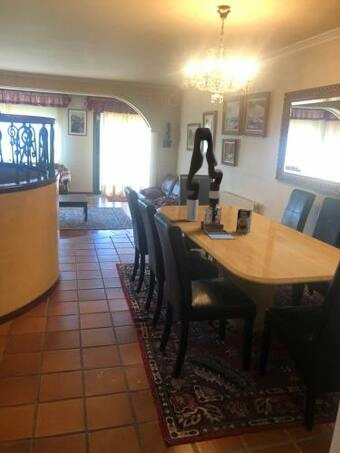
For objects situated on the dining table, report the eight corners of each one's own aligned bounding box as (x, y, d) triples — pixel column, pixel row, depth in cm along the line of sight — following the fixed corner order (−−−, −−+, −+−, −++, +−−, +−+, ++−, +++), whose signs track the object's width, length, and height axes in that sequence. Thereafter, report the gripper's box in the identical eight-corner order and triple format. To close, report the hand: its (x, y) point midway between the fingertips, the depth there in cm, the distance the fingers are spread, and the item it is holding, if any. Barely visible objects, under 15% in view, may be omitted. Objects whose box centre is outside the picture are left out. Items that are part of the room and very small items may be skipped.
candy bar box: (205, 230, 267) (206, 207, 263) (203, 228, 272) (204, 206, 268) (220, 230, 269) (221, 208, 265) (217, 228, 274) (219, 206, 270)
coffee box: (235, 231, 268) (237, 209, 264) (238, 229, 274) (240, 208, 270) (247, 233, 264) (250, 211, 260) (250, 231, 269) (252, 209, 266)
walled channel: (200, 227, 274) (200, 221, 273) (218, 227, 277) (219, 221, 276) (204, 231, 264) (204, 224, 263) (223, 231, 266) (223, 224, 265)
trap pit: (203, 231, 263) (203, 229, 262) (224, 231, 266) (225, 229, 265) (207, 235, 253) (207, 232, 253) (229, 235, 256) (229, 232, 256)
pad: (207, 235, 252) (207, 234, 252) (230, 235, 255) (230, 234, 255) (211, 239, 243) (211, 238, 242) (235, 239, 246) (235, 238, 245)
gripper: (206, 195, 271) (204, 218, 275) (211, 198, 258) (210, 222, 261) (216, 195, 273) (214, 218, 276) (222, 198, 259) (220, 222, 263)
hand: (212, 220), depth 269 cm, fingers closed on candy bar box, 5 cm apart
